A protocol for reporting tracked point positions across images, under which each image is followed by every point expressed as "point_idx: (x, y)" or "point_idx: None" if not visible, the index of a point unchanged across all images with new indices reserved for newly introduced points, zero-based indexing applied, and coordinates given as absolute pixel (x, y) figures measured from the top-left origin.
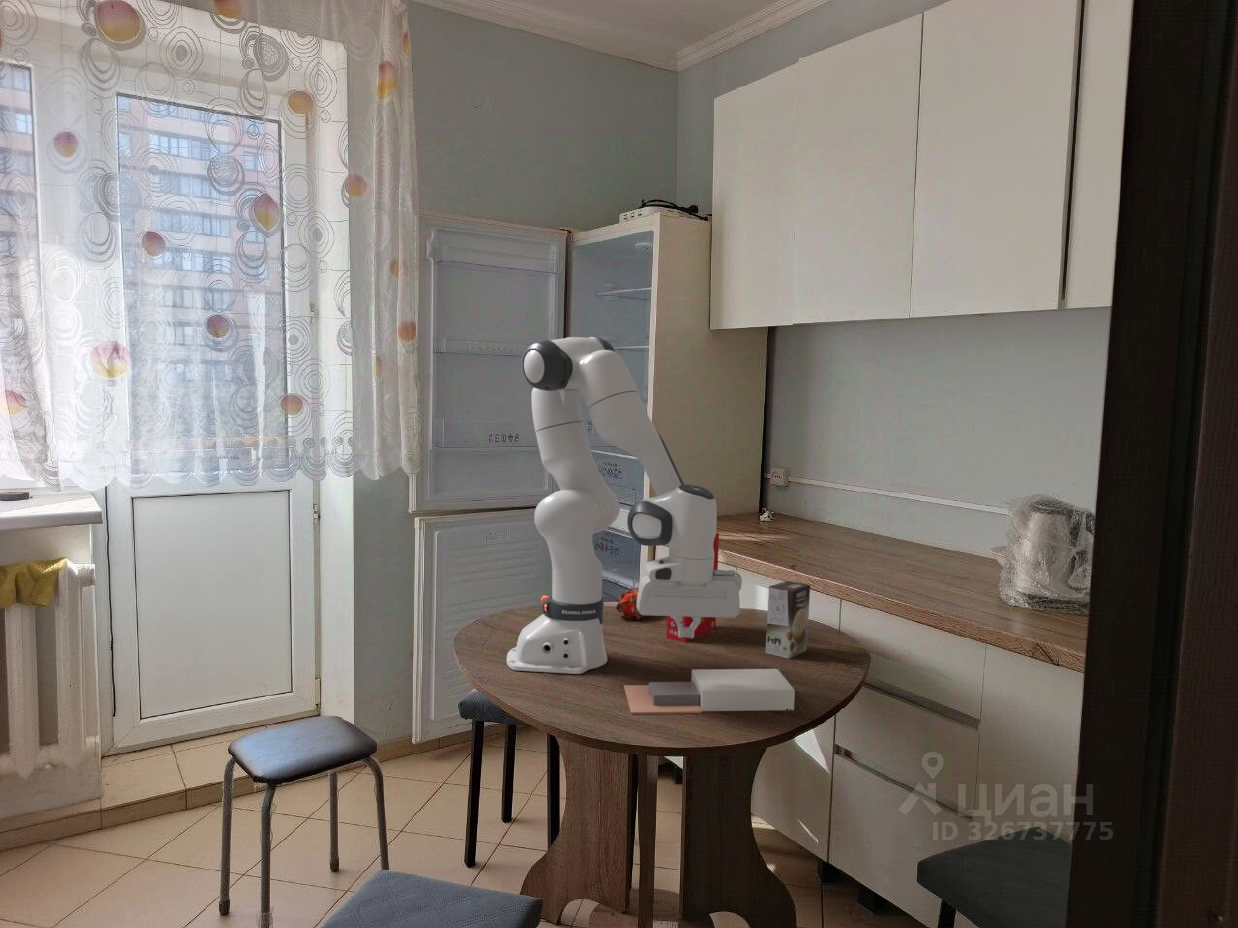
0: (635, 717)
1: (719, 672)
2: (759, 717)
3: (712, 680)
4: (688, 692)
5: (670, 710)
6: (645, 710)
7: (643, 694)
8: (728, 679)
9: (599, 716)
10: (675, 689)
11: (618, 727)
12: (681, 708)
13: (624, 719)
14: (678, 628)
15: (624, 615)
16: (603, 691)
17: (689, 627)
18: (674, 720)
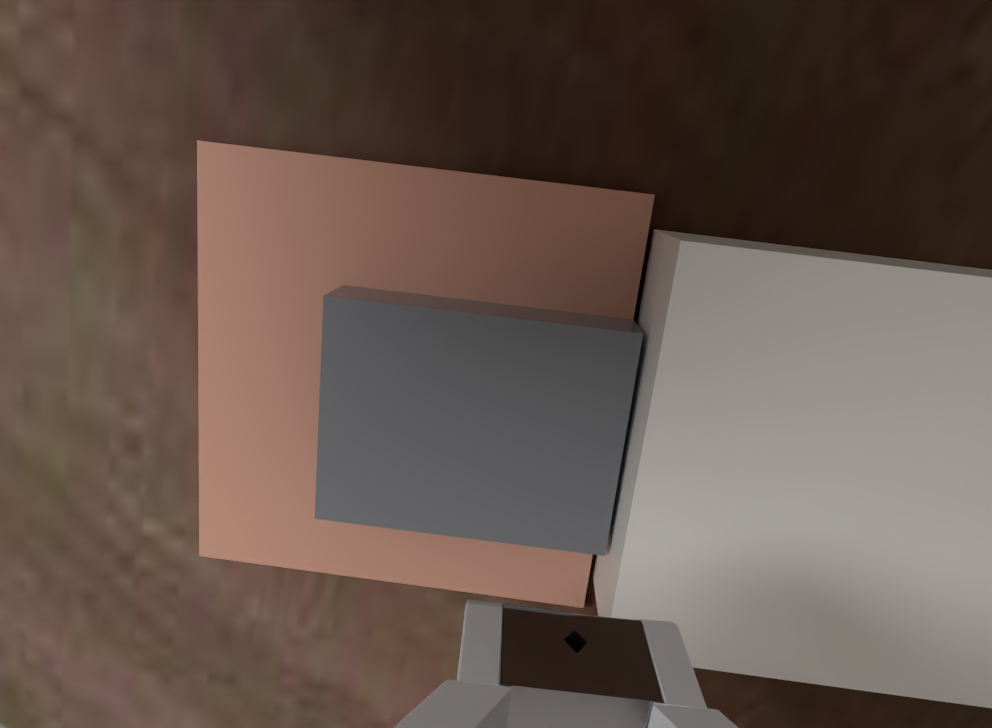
0: (222, 588)
1: (883, 340)
2: (865, 694)
3: (747, 496)
4: (545, 512)
5: (412, 571)
6: (277, 548)
7: (304, 321)
8: (877, 495)
9: (42, 548)
10: (475, 452)
11: (129, 676)
12: (480, 557)
13: (164, 601)
14: (459, 663)
15: None
16: (67, 197)
17: (641, 717)
18: (411, 653)
